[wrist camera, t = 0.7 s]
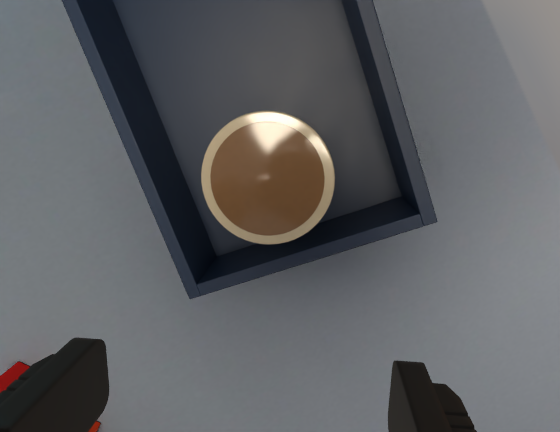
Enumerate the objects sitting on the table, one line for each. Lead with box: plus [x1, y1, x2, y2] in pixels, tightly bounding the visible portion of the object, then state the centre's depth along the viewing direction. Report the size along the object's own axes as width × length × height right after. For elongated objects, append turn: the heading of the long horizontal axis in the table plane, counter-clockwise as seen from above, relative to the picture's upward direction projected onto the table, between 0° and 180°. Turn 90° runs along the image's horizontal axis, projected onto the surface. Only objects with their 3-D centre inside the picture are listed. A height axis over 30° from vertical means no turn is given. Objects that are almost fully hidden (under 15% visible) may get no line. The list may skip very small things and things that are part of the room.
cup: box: [201, 111, 335, 244], centre depth 25 cm, size 7×7×9 cm
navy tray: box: [62, 0, 437, 299], centre depth 26 cm, size 26×16×6 cm, turn 20°
